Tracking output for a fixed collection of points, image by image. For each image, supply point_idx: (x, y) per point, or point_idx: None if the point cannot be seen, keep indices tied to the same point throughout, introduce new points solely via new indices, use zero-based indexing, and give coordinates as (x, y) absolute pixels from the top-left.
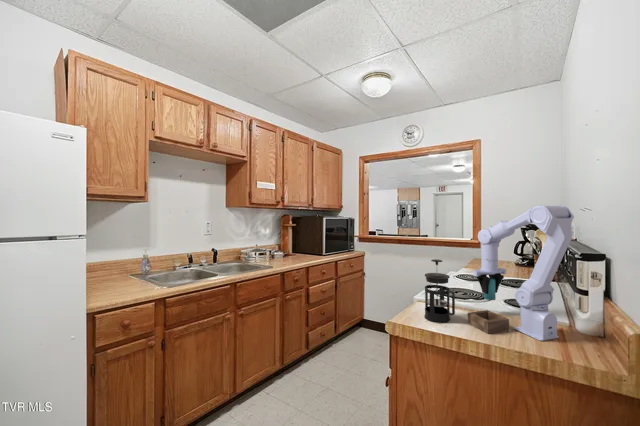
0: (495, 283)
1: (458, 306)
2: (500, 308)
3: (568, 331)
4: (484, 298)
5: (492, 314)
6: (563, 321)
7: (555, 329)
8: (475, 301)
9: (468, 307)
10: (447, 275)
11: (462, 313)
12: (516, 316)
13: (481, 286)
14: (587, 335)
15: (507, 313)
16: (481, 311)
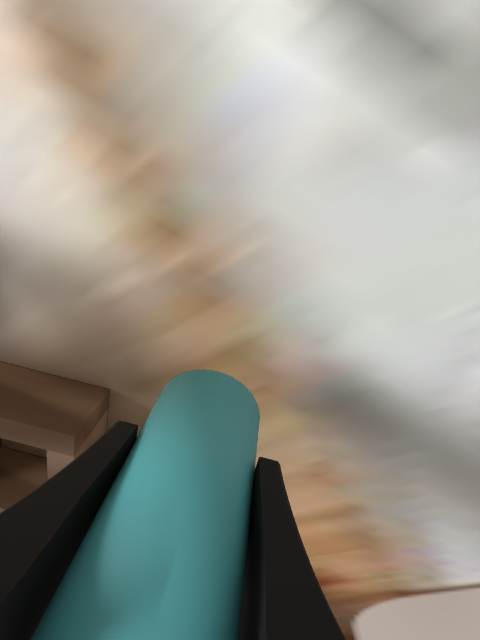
0: (240, 627)
1: (140, 96)
2: (414, 328)
3: (326, 597)
4: (164, 387)
5: (49, 474)
6: (455, 573)
7: None
8: (448, 78)
9: (204, 170)
10: None
11: (48, 236)
12: (330, 444)
13: (64, 479)
14: (342, 629)
15: (339, 398)
16: (14, 425)
